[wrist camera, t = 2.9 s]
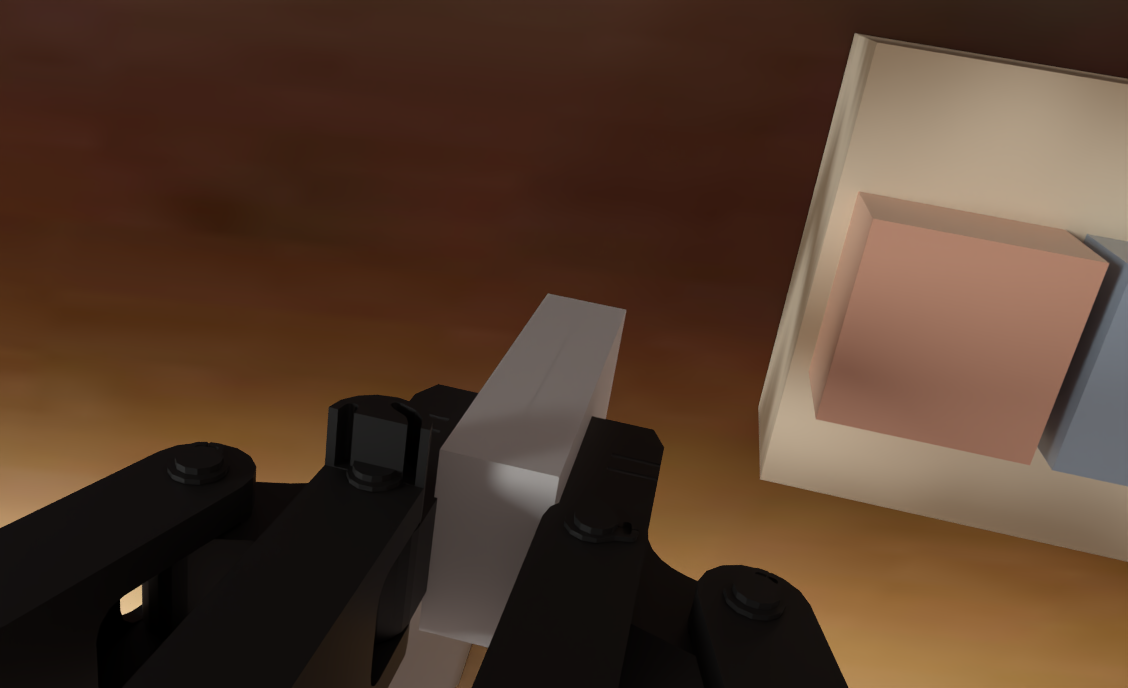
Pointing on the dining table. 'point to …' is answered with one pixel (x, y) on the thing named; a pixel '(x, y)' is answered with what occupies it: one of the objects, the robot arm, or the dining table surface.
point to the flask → (430, 659)
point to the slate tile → (1096, 383)
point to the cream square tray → (969, 183)
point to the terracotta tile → (951, 326)
